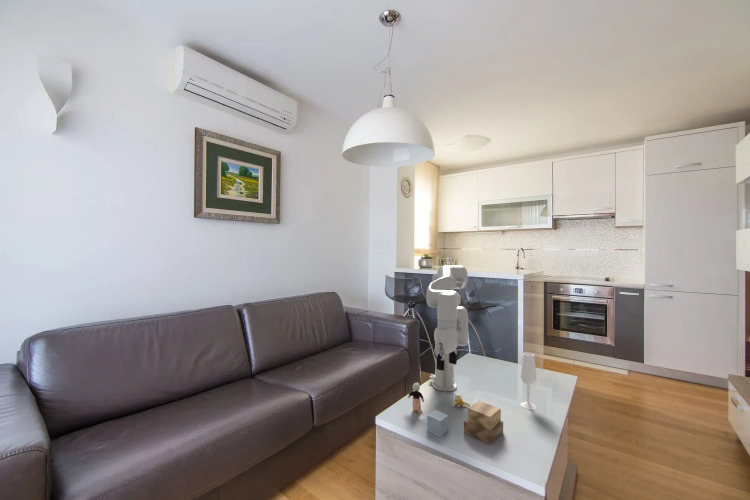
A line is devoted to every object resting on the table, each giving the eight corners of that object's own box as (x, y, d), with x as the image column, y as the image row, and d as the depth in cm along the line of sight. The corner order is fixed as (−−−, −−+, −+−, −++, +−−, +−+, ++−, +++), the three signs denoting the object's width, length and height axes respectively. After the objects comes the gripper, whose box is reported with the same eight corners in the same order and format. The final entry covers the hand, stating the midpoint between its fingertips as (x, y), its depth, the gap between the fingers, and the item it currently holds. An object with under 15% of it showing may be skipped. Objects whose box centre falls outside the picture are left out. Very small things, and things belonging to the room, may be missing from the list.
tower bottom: (463, 434, 125) (464, 421, 125) (476, 423, 133) (476, 411, 133) (491, 446, 118) (491, 432, 118) (503, 434, 125) (503, 421, 125)
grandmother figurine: (425, 411, 142) (425, 382, 142) (423, 415, 139) (424, 385, 139) (408, 408, 145) (408, 380, 145) (406, 412, 141) (406, 383, 141)
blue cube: (427, 430, 127) (427, 415, 127) (435, 424, 131) (435, 410, 131) (440, 436, 123) (440, 421, 123) (448, 430, 127) (448, 415, 127)
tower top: (468, 420, 126) (468, 408, 126) (479, 412, 132) (479, 400, 132) (490, 430, 119) (490, 416, 119) (500, 421, 125) (500, 408, 126)
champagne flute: (538, 410, 144) (538, 357, 144) (522, 408, 145) (522, 355, 146) (533, 403, 151) (534, 352, 151) (518, 401, 152) (519, 351, 152)
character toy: (453, 402, 144) (449, 394, 152) (453, 409, 144) (449, 401, 152) (471, 402, 144) (466, 394, 152) (471, 409, 144) (466, 401, 152)
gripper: (449, 319, 137) (449, 359, 137) (427, 325, 124) (426, 369, 124) (465, 322, 132) (465, 363, 132) (444, 328, 119) (443, 375, 119)
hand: (446, 366), depth 128 cm, fingers open, 9 cm apart
